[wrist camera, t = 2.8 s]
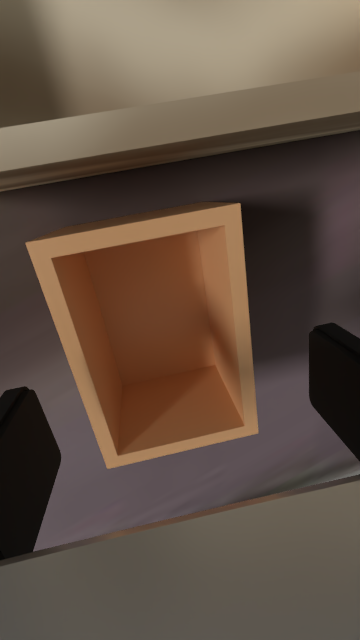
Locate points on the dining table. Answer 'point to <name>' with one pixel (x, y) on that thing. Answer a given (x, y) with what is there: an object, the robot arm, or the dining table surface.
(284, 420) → the dining table surface
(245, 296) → the box
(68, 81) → the big crate
